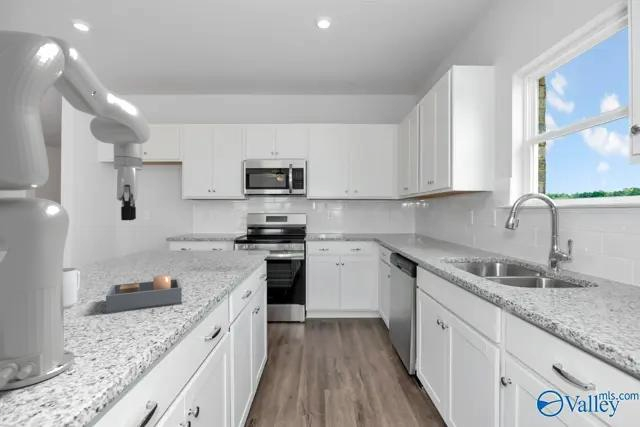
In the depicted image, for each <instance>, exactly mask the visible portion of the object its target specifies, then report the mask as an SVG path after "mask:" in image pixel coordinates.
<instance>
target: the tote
mask: <svg viewBox="0 0 640 427" xmlns="http://www.w3.org/2000/svg"><path fill="white" fill-rule="evenodd" d="M131 284H139V292H133V293H124V294H120V286H121V285H131ZM182 290H183V289H182V286H181V282H180V279H179V278H173V279H172V278H171V288H170V289H161V290H153V281H152V280H151V281H141V282H130V283H121V284H112V285H111V286H110V288H109V290H108V292H107V294H106V295H105V314H106V313H108V314H114V313H113V312H115V313H123V312H129V311H130V310H131V311H136V310H143V309H144V310H146V309H152V308H160V307H167V306H175V305H182V303H183V302H182V300H183V299H182V296H183V294H182V292H183V291H182ZM122 311H123V312H122Z"/></svg>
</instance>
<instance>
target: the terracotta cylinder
mask: <svg viewBox="0 0 640 427" xmlns="http://www.w3.org/2000/svg"><path fill="white" fill-rule="evenodd" d="M152 279H153V290H161V289H170V288H171V279H172V277H171V275H169V274H163V275H156V276H153V277H152Z"/></svg>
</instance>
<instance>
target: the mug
mask: <svg viewBox="0 0 640 427" xmlns="http://www.w3.org/2000/svg"><path fill="white" fill-rule="evenodd" d="M80 272H81V271H80V270H78V268H75V267H63V310H66V309H71V308H73V307H74V306H76V304H77V303H78V301H79V296H78V295H79V293H78V292H79V291H78V290H79V289H80V276H81V275H80V274H81V273H80Z"/></svg>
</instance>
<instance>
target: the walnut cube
mask: <svg viewBox="0 0 640 427" xmlns="http://www.w3.org/2000/svg"><path fill="white" fill-rule="evenodd" d="M133 292H139V284H131V285H121V286H120V294H124V293H133Z"/></svg>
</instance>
